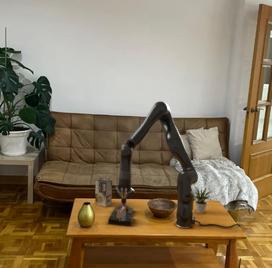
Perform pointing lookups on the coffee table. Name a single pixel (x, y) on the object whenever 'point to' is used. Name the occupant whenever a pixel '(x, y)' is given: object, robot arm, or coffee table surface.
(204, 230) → the coffee table surface
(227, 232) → the coffee table surface
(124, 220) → the spout base
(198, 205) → the house plant
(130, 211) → the button block
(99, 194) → the coffee box
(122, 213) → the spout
